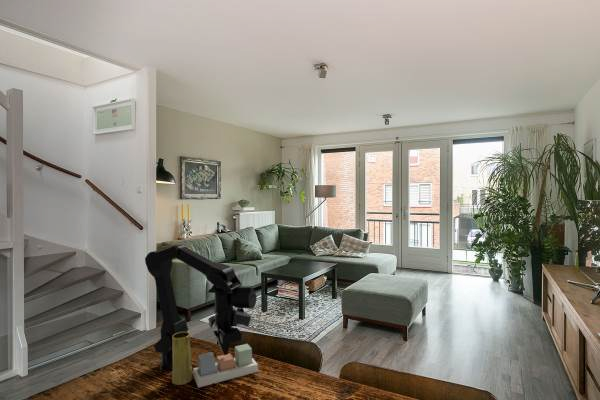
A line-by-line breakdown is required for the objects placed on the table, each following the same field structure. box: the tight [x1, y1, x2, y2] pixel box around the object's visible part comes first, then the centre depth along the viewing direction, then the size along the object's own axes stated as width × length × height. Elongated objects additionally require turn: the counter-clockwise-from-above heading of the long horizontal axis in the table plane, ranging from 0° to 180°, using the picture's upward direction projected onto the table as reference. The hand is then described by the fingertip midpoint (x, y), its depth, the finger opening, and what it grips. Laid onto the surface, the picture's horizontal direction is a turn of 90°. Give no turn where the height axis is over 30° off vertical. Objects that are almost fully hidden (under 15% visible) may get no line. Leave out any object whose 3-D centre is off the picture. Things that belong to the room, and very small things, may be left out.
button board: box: [192, 357, 259, 388], centre depth 113 cm, size 8×19×2 cm, turn 117°
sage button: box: [234, 343, 253, 367], centre depth 115 cm, size 4×4×5 cm
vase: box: [171, 331, 194, 386], centre depth 109 cm, size 6×6×14 cm
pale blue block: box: [197, 351, 216, 377], centre depth 110 cm, size 4×4×5 cm
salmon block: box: [216, 352, 235, 372], centre depth 112 cm, size 4×4×5 cm
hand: (225, 354), depth 112 cm, fingers closed
